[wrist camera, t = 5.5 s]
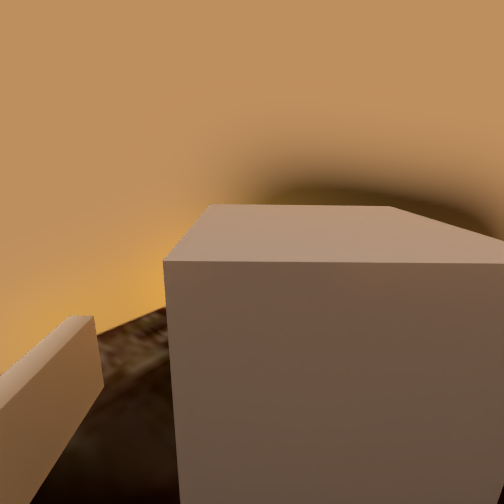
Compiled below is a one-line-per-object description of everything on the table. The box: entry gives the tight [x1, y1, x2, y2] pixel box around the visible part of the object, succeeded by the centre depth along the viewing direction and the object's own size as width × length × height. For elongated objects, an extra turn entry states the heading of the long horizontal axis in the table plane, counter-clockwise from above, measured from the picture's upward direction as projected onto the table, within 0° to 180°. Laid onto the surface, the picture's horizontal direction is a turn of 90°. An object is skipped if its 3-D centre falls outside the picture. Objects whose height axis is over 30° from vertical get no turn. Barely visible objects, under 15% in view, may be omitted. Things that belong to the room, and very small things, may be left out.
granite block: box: [163, 204, 504, 504], centre depth 8 cm, size 5×5×12 cm
